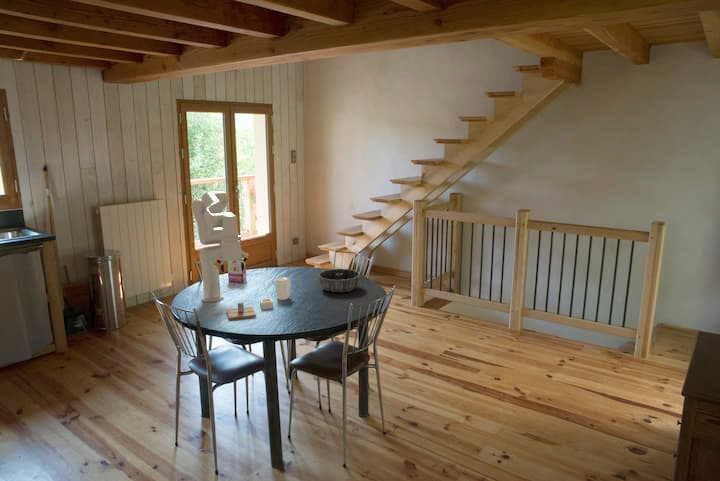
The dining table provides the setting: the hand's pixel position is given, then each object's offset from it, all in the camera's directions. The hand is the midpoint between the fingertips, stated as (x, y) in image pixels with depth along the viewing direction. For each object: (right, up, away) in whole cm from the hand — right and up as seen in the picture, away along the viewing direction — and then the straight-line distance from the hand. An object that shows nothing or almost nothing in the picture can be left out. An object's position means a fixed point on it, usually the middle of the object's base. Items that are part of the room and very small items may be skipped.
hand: (232, 271), depth 260 cm
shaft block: (+2, -24, +10) cm, 26 cm away
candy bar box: (-15, -12, +74) cm, 76 cm away
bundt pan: (+53, -15, +56) cm, 79 cm away
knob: (+14, -22, +22) cm, 34 cm away
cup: (+21, -19, +38) cm, 47 cm away
